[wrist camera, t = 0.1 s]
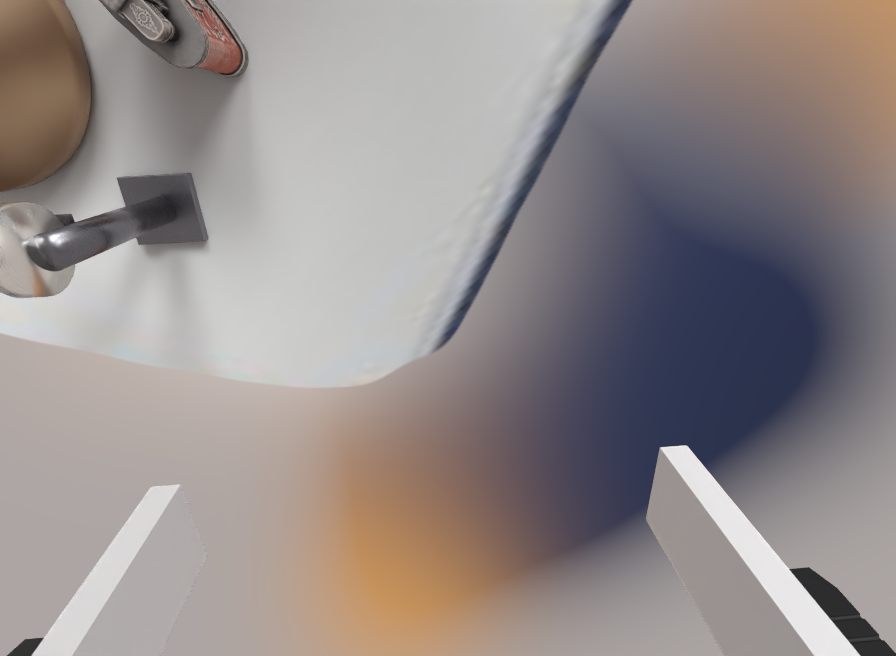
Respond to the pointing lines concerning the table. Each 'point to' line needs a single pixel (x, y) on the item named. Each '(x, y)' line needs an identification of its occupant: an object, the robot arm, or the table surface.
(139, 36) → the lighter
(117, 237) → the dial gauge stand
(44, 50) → the turntable
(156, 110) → the table surface
